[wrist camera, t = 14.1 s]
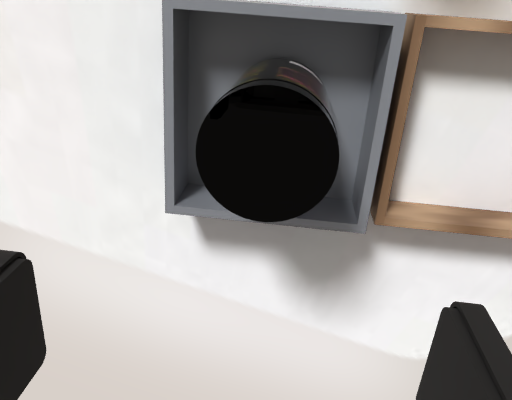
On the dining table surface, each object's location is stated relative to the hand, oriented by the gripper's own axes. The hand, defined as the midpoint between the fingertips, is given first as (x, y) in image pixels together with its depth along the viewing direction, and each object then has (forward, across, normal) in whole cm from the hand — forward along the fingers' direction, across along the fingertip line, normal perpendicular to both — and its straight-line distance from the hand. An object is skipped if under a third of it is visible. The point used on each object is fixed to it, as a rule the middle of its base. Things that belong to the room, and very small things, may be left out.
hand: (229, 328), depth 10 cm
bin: (+23, 0, 0) cm, 23 cm away
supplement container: (+22, 0, 0) cm, 22 cm away
